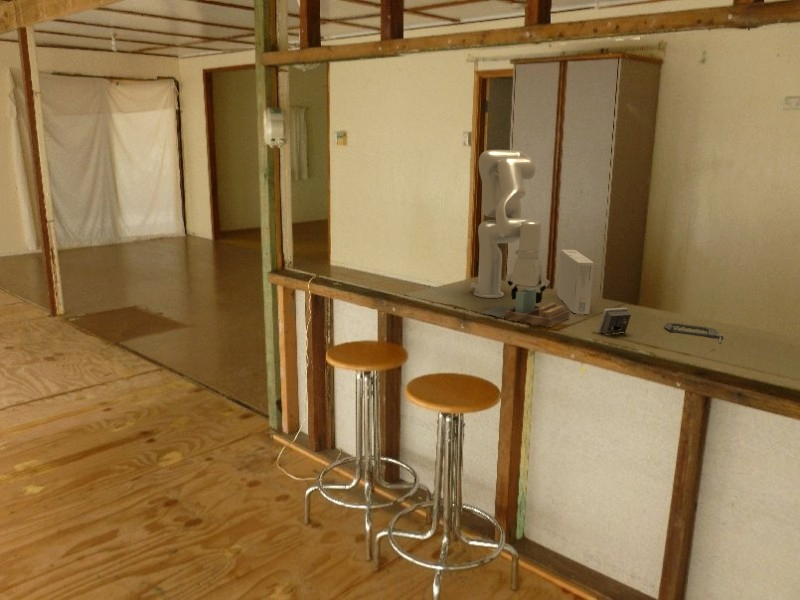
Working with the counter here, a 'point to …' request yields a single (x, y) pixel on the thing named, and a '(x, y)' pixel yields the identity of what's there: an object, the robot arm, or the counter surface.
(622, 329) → the electrical switch
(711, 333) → the c clamp
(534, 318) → the brown divided tray
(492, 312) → the mat
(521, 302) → the teal square block
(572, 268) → the packaging
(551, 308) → the offcuts
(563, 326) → the counter surface
